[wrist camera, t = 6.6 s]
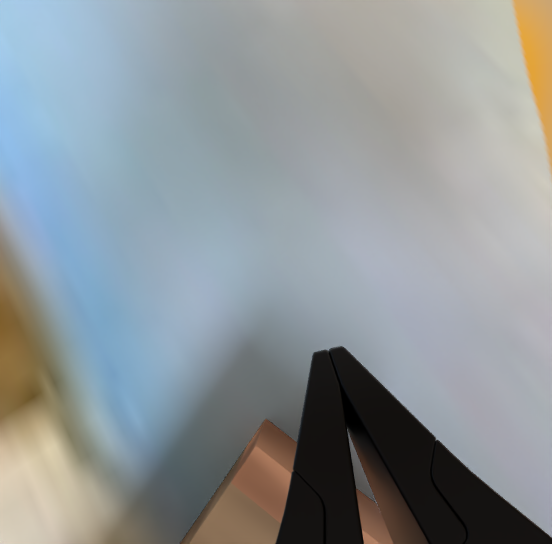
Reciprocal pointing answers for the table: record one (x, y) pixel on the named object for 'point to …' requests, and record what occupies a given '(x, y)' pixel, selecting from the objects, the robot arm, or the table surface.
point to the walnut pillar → (265, 497)
